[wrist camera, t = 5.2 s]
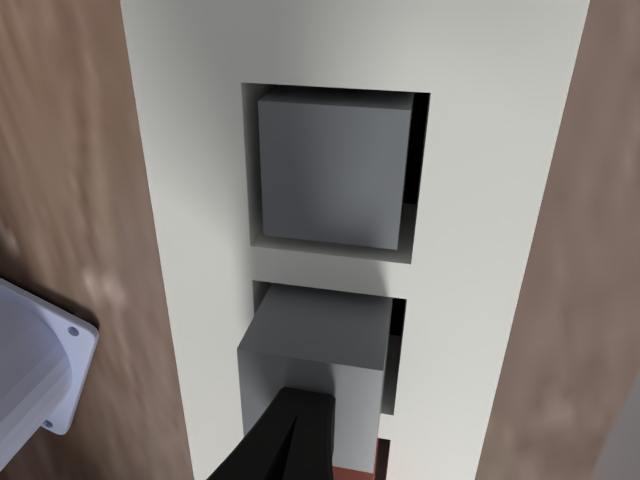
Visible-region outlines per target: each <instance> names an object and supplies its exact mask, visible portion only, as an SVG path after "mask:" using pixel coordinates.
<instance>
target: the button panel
mask: <svg viewBox="0 0 640 480" xmlns="http://www.w3.org/2000/svg"><path fill="white" fill-rule="evenodd" d="M589 2H590V0H120V4H121V10H122V16H123V23H124V29H125V36H126V42H127V49H128V55H129V61H130V68H131V74H132V81H133V87H134V94H135V100H136V106H137V113H138V119H139V126H140V132H141V139H142V145H143V151H144V158H145V164H146V171H147V177H148V184H149V190H150V196H151V203H152V209H153V216H154V222H155V229H156V235H157V242H158V248H159V254H160V261H161V267H162V274H163V280H164V287H165V293H166V299H167V306H168V312H169V319H170V325H171V332H172V338H173V344H174V351H175V357H176V364H177V370H178V377H179V383H180V389H181V396H182V402H183V409H184V415H185V422H186V428H187V434H188V441H189V447H190V454H191V460H192V467H193V473H194V480H206V479H207V478H208V477H209V476H210V475H211V474H212V473H213V472H214V471H215V470H216V468H217V467H218V466H219V465H220V464H221V463H222V462H223V461H224V460H225V459H226V458H227V457H228V456H229V454H230V453H231V452H232V451H233V450H234V449H235V448H236V446H237V445H238V444H239V443H240V442H241V440H242V439H243V438H244V434H243V422H242V410H241V397H240V385H239V372H238V360H237V347H238V346H239V344H240V342H241V340H242V338H243V336H244V334H245V332H246V330H247V329H248V327H249V325H250V323H251V321H252V319H253V317H254V315H255V313H256V312H257V310H258V308H259V306H260V304H261V302H262V300H263V298H264V296H265V295H266V293H267V291H268V289H269V287H270V285H271V283H280V284H288V285H297V286H305V287H313V288H321V289H329V290H337V291H345V292H353V293H361V294H369V295H377V296H385V297H393V298H401V299H405V304H404V313H403V322H402V331H401V336H397V335H390V334H389V344H388V354H387V364H386V373H385V381H384V390H383V398H382V406H381V414H380V422H379V430H378V438H379V443H378V453H377V463H376V473H375V480H474V479H475V475H476V471H477V467H478V462H479V458H480V454H481V450H482V446H483V442H484V438H485V433H486V429H487V425H488V421H489V417H490V413H491V409H492V404H493V400H494V396H495V392H496V388H497V384H498V380H499V375H500V371H501V367H502V363H503V359H504V355H505V351H506V346H507V342H508V338H509V334H510V330H511V326H512V322H513V317H514V313H515V309H516V305H517V301H518V297H519V293H520V288H521V284H522V280H523V276H524V272H525V268H526V264H527V259H528V255H529V251H530V247H531V243H532V239H533V235H534V230H535V226H536V222H537V218H538V214H539V210H540V206H541V201H542V197H543V193H544V189H545V185H546V181H547V177H548V172H549V168H550V164H551V160H552V156H553V152H554V148H555V143H556V139H557V135H558V131H559V127H560V123H561V119H562V114H563V110H564V106H565V102H566V98H567V94H568V90H569V85H570V81H571V77H572V73H573V69H574V65H575V60H576V56H577V52H578V48H579V44H580V40H581V36H582V31H583V27H584V23H585V19H586V15H587V11H588V7H589ZM280 85H298V86H316V87H334V88H352V89H370V90H388V91H407V92H425V93H429V94H428V103H427V111H426V120H425V129H424V138H423V147H422V155H421V164H420V173H419V182H418V190H417V199H416V204H409V203H403V210H402V217H401V225H400V232H399V240H398V247H397V250H393V249H384V248H375V247H366V246H356V245H347V244H338V243H329V242H319V241H310V240H301V239H292V238H282V237H273V236H264V233H263V210H262V186H261V163H260V139H259V116H258V101H259V100H260V99H261V98H263V97H264V96H266V95H267V94H268V93H270V92H271V91H273V90H274V89H275V88H277V87H278V86H280Z"/></svg>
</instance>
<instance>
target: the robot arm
mask: <svg viewBox="0 0 640 480" xmlns="http://www.w3.org/2000/svg"><path fill="white" fill-rule="evenodd" d="M98 338H99V333H98V330H97V329H96V328H95V327H94V326H93V325H92V324H90V323H88V322H86V321H84V320H82V319H80V318H78V317H76V316H74V315H72V314H70V313H68V312H66V311H64V310H62V309H60V308H58V307H56V306H54V305H53V304H51V303H49V302H47V301H45V300H43V299H41V298H39V297H37V296H35V295H33V294H31V293H29V292H27V291H25V290H23V289H21V288H19V287H17V286H15V285H13V284H11V283H9V282H7V281H6V280H4V279H2V278H0V471H1V470H2V469H3V468H4V467H5V466H6V465H7V463H8V462H9V461H10V460H11V459H12V458H13V457H14V455H15V454H16V453H17V452H18V451H19V450H20V449H21V447H22V446H23V445H24V444H25V443H26V442H27V441H28V439H29V438H30V437H31V436H32V435H33V434H34V433H35V431H36V430H37V429H38V428H39V427H40V426H41V427H43V428H45V429H47V430H49V431H51V432H53V433H55V434H58V435H63V434H65V433H66V432H67V431H68V430H69V428H70V426H71V423H72V420H73V417H74V414H75V411H76V407H77V404H78V401H79V398H80V395H81V392H82V388H83V385H84V382H85V379H86V376H87V373H88V370H89V366H90V363H91V360H92V357H93V354H94V351H95V347H96V344H97V341H98ZM335 405H336V398H335V397H334V396H333V395H332V394H326V393H320V392H314V391H307V390H301V389H295V388H289V387H283V388H281V389H280V390H279V392H278V393H277V395H276V396H275V398H274V399H273V400H272V402H271V403H270V405H269V406H268V407H267V409H266V410H265V412H264V413H263V414H262V416H261V417H260V418H259V419H258V421H257V422H256V423H255V425H254V426H253V427H252V428H251V430H250V431H249V432H248V433H247V434H246V436H245V437H244V438H243V439H242V440H241V442H240V443H239V444H238V445H237V446H236V448H235V449H234V450H233V451H232V452H231V453H230V454H229V456H228V457H227V458H226V459H225V460H224V461H223V462H222V463H221V464H220V465H219V466H218V467H217V468H216V470H215V471H214V472H213V473H212V474H211V475H210V476H209V477H208V478H207V479H206V480H334V478H333V465H332V457H333V450H334V429H335Z"/></svg>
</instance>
